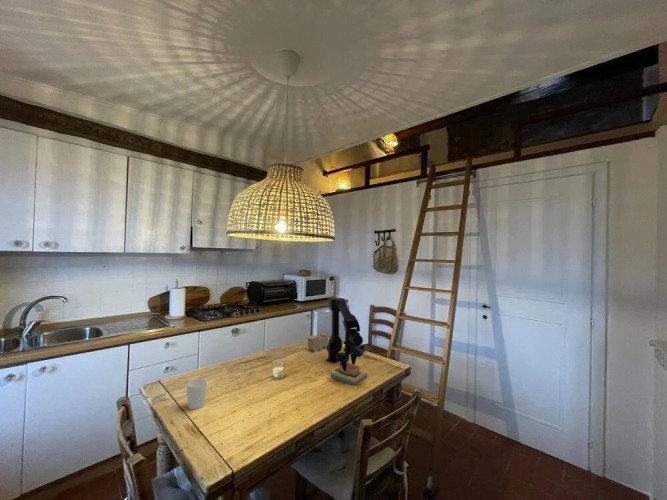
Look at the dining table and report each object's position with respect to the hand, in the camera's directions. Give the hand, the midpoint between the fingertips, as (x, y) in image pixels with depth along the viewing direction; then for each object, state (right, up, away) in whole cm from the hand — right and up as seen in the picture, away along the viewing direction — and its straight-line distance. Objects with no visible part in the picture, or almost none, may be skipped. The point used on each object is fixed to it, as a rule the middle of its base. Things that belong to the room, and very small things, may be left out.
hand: (349, 368), depth 156 cm
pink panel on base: (0, -3, 0) cm, 3 cm away
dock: (0, -5, 0) cm, 5 cm away
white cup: (-70, -3, -32) cm, 77 cm away
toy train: (-20, -5, +42) cm, 47 cm away
